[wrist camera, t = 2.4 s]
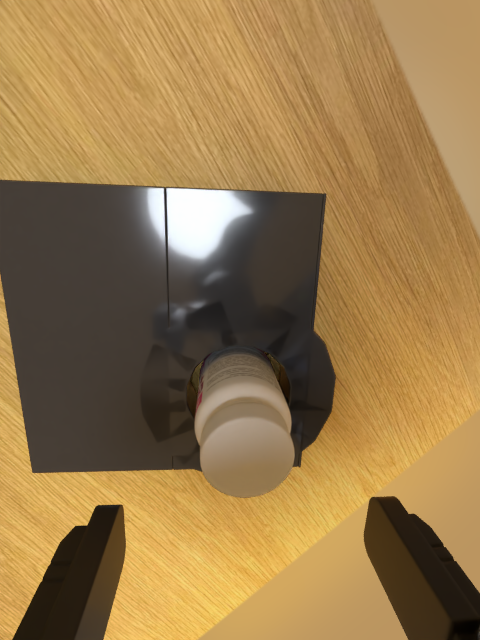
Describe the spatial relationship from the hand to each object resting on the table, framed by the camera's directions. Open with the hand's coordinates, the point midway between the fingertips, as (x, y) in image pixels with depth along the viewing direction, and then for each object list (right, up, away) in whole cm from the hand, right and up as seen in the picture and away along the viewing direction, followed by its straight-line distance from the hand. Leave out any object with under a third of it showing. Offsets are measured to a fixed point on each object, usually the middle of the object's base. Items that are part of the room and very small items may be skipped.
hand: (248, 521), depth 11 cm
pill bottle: (-1, +3, +11) cm, 12 cm away
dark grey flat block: (-4, +6, +10) cm, 12 cm away
